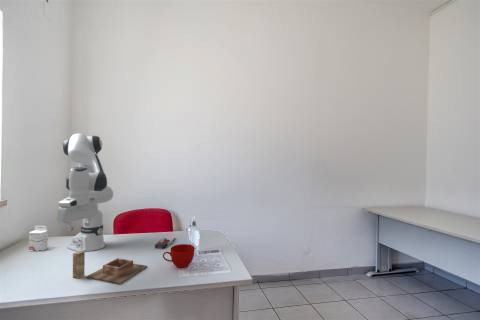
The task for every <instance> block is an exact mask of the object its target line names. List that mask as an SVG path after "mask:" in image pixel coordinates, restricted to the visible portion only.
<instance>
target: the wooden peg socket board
mask: <svg viewBox="0 0 480 320" xmlns="http://www.w3.org/2000/svg"><path fill="white" fill-rule="evenodd" d="M146 269H148V265H146V264H145V265H144V264H138V263H134V260H131V259H127V258H126V259H125V258H119V257H118V258H115V259H113V260H111V261H109V262H107V263H105V264H103V265H102V268H99V269H98V270H96V271H94V272H92V273H90V274H88V275H86V279H89V280H94V281H98V282H99V281H100V282H103V283H108V284H114V285H119V286H120V285H122V284H124V283H125V282H128V281H129V280H131V279H132V278H134V277H135V276H137V275H138V274H140V273H141V272H143V271H145V270H146Z"/></svg>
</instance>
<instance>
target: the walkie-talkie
mask: <svg viewBox="0 0 480 320" xmlns="http://www.w3.org/2000/svg"><path fill="white" fill-rule="evenodd" d="M176 239H177V238H176V237H174V238H173V239H172V240H170V239H168V238H166V237H163V238H162V239H160V240H158V241H157V242H156V243H155V244H154V249H158V250H159V249H160V250H164V249H165V248H167V247H170V246H171V245H172V246H173V244H174V241H175V240H176Z"/></svg>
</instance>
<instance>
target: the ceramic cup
mask: <svg viewBox="0 0 480 320" xmlns="http://www.w3.org/2000/svg"><path fill="white" fill-rule="evenodd" d="M195 249H196V248H195V246H194V245H192V244H188V243H179V244H176V245H175V244H174V245H172V246H171V247H170V251H164V252H163V253H162V258H163V259H164V260H165V262H166V261H167V262H169V263H173V265H174V266H175V267H176V268H177V269H186V268H188V267H189V266H190V265H191V263H193V260H194V256H195ZM167 254H168V255H170V259H167V258H166V256H165V255H167Z"/></svg>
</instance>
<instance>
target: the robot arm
mask: <svg viewBox="0 0 480 320" xmlns="http://www.w3.org/2000/svg"><path fill="white" fill-rule="evenodd" d="M61 149H62V152H63V153H64V155H66V156H68V158H69V159H70V160H71V161H73V162H75V163H76V164H77V165H78V166H76V167H75V166H74V167H72V168H70V171H69V175H68V176H66V178H65V181H66V183H65V188H66V189H68V196H67V197H65V198H63V199H62V200H59V201H58V203H57V205H58V209H57V213H56V215H57V216H56V220H57V223H58V224H65V226H66V227H67V232H71V231H74V226H72V225H71V224H72V222H75V221H79V220H82V226H80V227H79V230H80V231H79V232H78V233H77V234H75V236H73V237H72V239H71V244H68V245H67V246H66V248H67V249H69V250H72V251H75V252H78V251H83V252H85V253H86V252H91V251H97V250H101V249H103V248H104V247H105V246H106V245H105V244H106V243H105V242H106V241H105V240H104V224H103V213H102V211H100V210H99V207H98V205H99V204H104V203H107V202H109V201H110V202H111V200H112V199H113V197H114V191H113V189H112V188H111V187H110V186H108V178H107V175H106V173H105V171H104V169H103V166H102V163H101V159H99V156H98V154H99V153H100V152H101V151H102V149H103V141H102V140H101V137H100V136H99V135H91V136H89V135H88V136H86V135H85V134H83V133H74V134H73V135H72V136H71V137H70V138H67V139H64V140H63V141H62V143H61Z"/></svg>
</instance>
